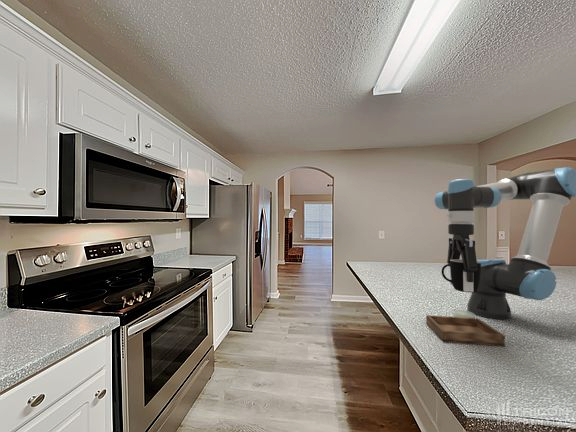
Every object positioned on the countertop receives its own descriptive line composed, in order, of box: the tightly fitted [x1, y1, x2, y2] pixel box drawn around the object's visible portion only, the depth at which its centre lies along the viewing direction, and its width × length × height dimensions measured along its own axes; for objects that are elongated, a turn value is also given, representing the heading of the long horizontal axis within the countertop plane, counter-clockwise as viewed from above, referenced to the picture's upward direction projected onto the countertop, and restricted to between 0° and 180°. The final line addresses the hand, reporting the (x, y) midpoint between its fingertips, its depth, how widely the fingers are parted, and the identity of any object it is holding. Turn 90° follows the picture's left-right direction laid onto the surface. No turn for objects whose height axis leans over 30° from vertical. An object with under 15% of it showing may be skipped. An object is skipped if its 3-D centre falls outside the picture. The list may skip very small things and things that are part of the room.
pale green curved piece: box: [452, 309, 476, 318], centre depth 102 cm, size 7×7×4 cm
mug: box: [441, 258, 481, 294], centre depth 93 cm, size 12×9×10 cm
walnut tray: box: [426, 315, 506, 347], centre depth 91 cm, size 18×15×3 cm
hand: (461, 287), depth 92 cm, fingers closed on mug, 9 cm apart
